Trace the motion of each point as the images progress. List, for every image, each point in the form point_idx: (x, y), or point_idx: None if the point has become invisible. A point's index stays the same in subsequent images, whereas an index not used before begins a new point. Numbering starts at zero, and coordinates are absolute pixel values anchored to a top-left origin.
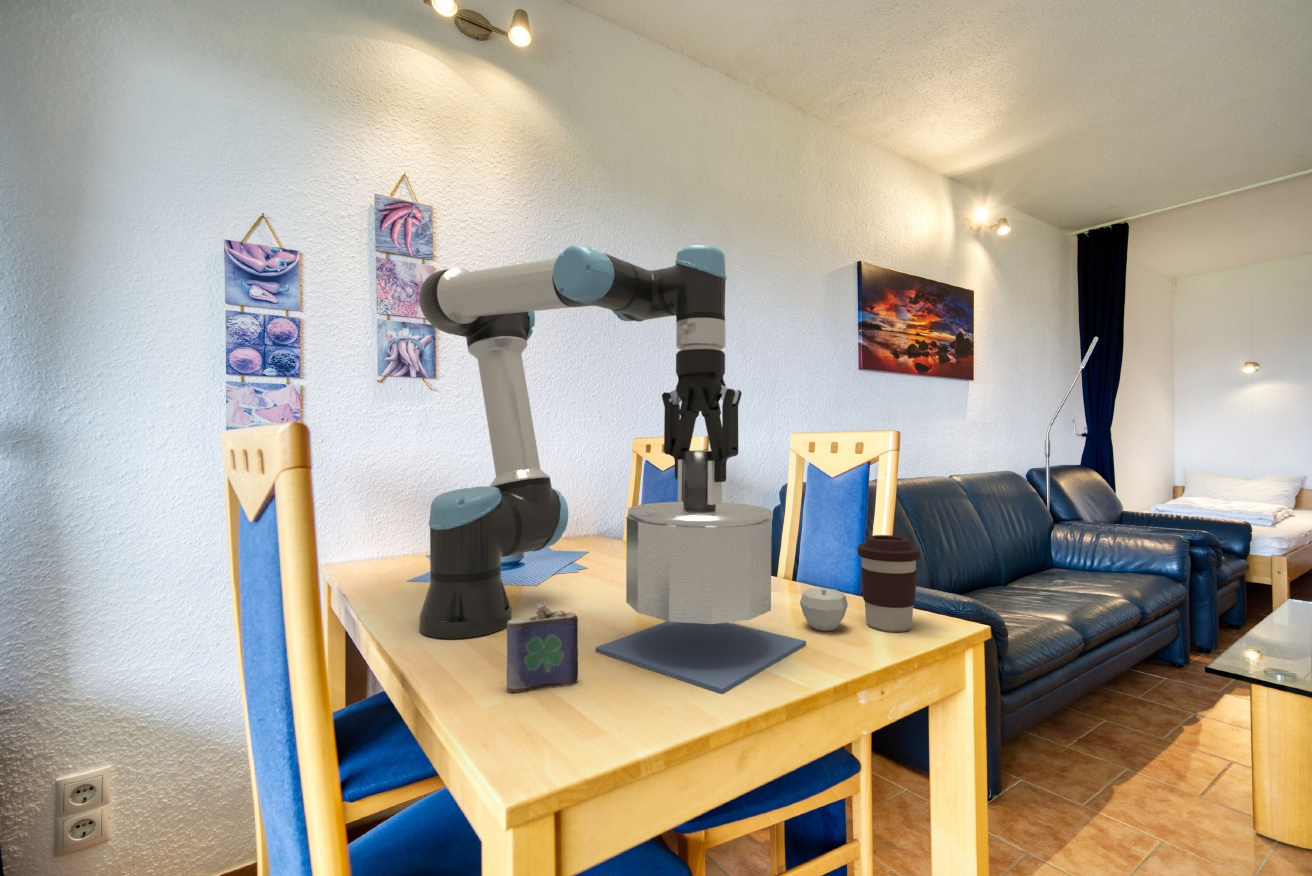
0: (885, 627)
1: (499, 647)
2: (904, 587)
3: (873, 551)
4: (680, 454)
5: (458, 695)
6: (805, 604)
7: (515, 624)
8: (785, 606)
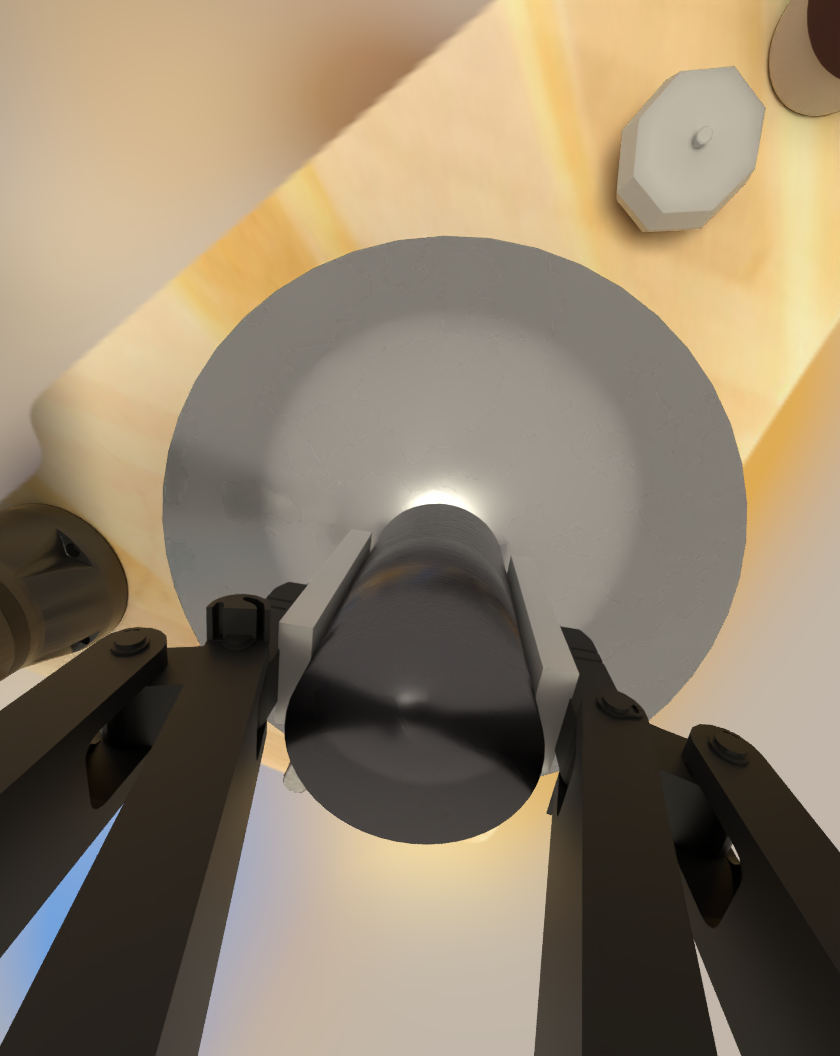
0: (827, 112)
1: (188, 623)
2: None
3: None
4: (264, 730)
5: (285, 746)
6: (639, 214)
7: (304, 790)
8: (513, 28)
